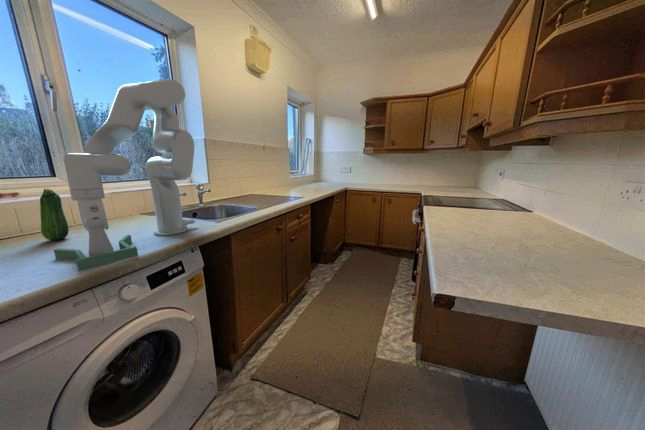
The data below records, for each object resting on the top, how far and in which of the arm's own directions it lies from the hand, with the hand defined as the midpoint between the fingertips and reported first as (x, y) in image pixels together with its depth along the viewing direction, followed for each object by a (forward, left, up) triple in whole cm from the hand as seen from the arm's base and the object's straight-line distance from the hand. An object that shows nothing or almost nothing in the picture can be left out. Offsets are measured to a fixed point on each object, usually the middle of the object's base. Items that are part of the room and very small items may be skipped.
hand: (99, 250), depth 80 cm
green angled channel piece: (-1, +1, -2) cm, 2 cm away
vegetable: (+6, -33, -2) cm, 34 cm away
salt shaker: (0, +4, -2) cm, 5 cm away
